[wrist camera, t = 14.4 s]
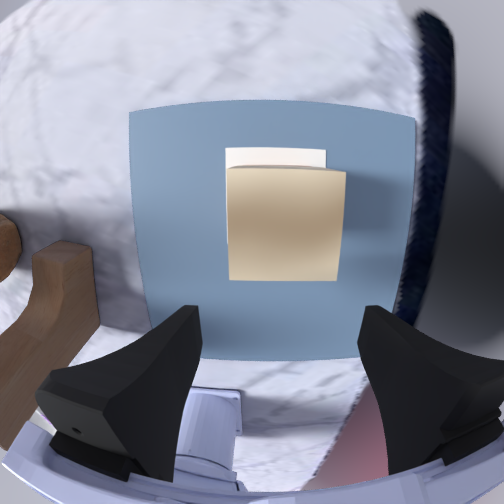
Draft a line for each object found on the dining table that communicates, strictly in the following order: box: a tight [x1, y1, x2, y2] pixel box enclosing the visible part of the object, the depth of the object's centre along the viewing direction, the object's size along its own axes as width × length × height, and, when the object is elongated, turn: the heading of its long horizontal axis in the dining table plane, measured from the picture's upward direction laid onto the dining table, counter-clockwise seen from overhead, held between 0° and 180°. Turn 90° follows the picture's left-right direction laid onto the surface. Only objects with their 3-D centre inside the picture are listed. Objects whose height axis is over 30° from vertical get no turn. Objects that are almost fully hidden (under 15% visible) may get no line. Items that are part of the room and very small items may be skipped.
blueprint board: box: [129, 100, 415, 361], centre depth 21 cm, size 22×22×1 cm
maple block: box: [226, 165, 346, 281], centre depth 13 cm, size 4×4×4 cm
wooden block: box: [0, 240, 100, 451], centre depth 15 cm, size 9×4×18 cm, turn 171°
